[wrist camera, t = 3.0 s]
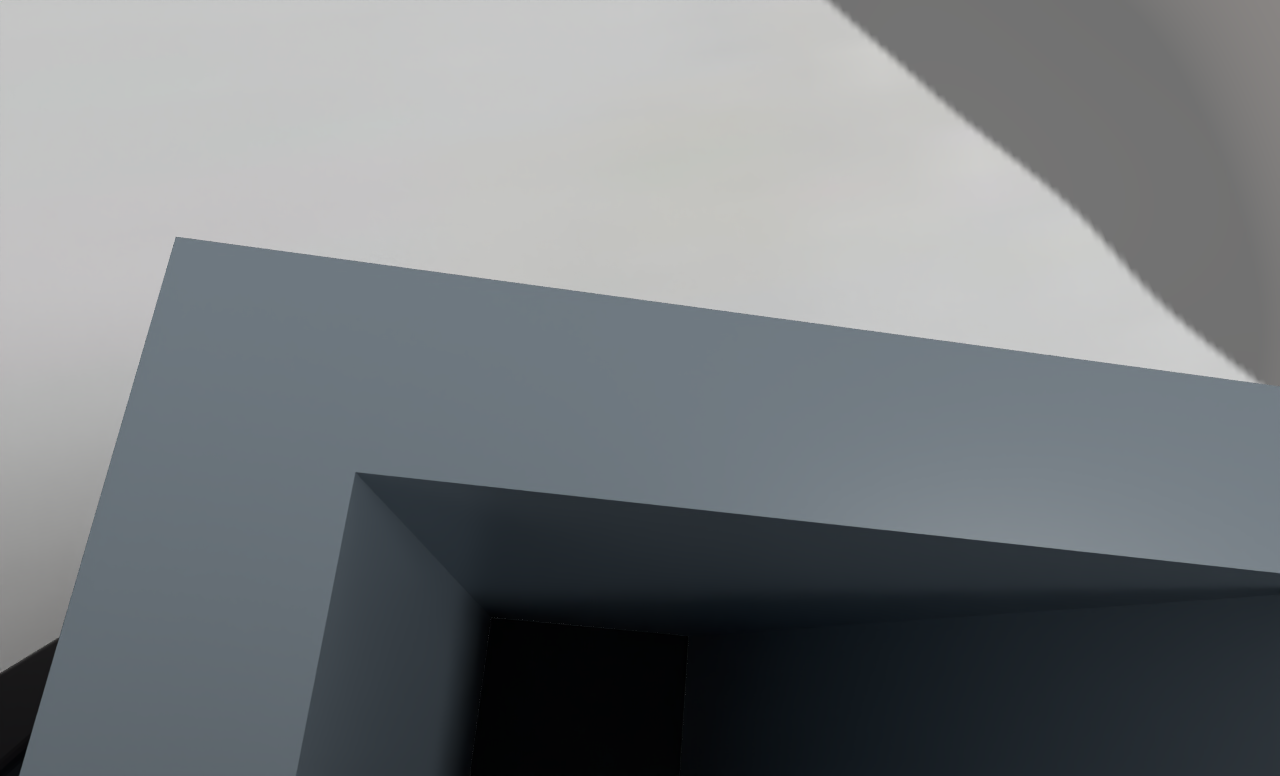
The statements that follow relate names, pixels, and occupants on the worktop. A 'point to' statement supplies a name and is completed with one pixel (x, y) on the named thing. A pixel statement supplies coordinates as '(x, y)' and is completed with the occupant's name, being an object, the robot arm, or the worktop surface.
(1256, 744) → the sleeve
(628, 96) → the worktop surface
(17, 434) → the worktop surface
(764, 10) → the worktop surface
